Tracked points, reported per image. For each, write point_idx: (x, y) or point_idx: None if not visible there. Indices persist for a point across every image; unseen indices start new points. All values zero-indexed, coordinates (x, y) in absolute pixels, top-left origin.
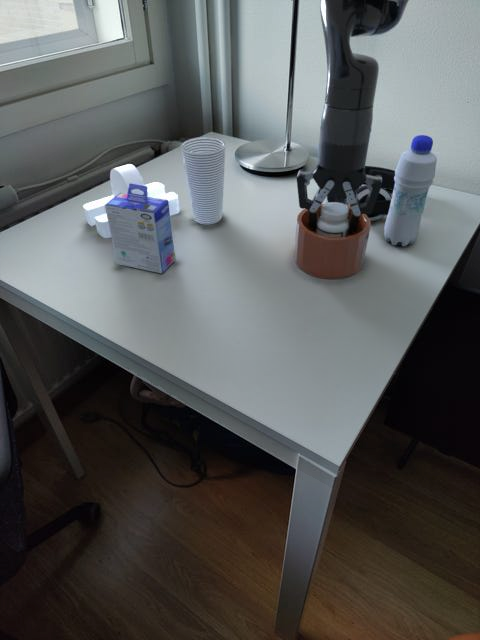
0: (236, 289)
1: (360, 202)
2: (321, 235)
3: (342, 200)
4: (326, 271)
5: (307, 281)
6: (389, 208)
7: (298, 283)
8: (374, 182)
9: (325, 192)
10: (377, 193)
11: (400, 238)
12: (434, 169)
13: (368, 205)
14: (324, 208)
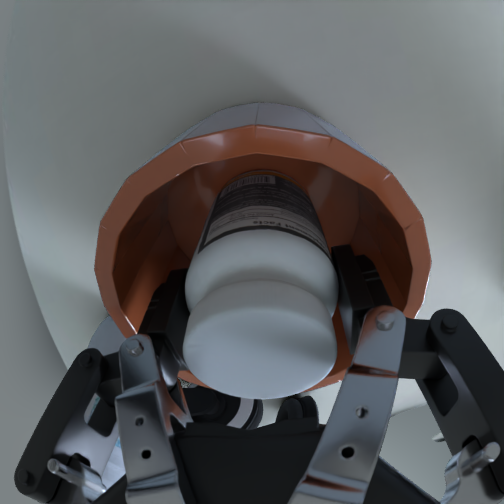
0: (467, 7)
1: (235, 408)
2: (288, 154)
3: (284, 407)
4: (239, 107)
5: (296, 70)
6: None
7: (321, 52)
8: (47, 492)
9: (341, 453)
10: (35, 436)
11: (111, 326)
12: None
13: (80, 385)
14: (319, 350)
